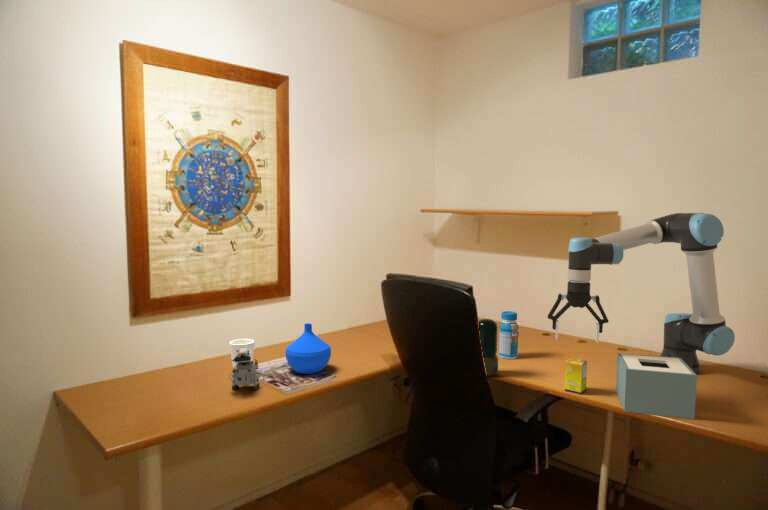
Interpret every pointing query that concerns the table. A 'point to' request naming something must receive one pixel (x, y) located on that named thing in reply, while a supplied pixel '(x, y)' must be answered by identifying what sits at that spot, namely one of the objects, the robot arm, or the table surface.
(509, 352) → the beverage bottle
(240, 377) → the figurine
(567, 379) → the supplement box
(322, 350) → the vase
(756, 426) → the table surface
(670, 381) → the box
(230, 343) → the foam cup
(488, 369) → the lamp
